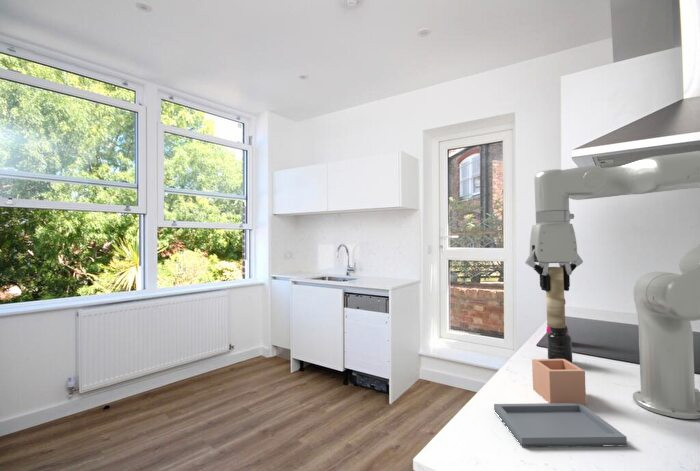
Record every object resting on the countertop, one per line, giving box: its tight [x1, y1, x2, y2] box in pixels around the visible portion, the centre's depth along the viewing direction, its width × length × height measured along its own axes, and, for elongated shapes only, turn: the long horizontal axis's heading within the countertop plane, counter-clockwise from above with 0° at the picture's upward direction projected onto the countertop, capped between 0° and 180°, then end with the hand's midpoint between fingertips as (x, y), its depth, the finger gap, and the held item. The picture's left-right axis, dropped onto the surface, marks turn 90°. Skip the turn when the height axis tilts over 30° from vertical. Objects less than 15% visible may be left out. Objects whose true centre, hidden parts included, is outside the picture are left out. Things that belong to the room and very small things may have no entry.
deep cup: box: [531, 358, 587, 405], centre depth 89 cm, size 8×8×8 cm
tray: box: [493, 402, 628, 448], centre depth 75 cm, size 20×14×2 cm
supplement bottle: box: [546, 324, 573, 364], centre depth 113 cm, size 7×7×12 cm
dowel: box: [545, 266, 566, 328], centre depth 89 cm, size 4×4×15 cm
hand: (554, 289), depth 89 cm, fingers closed on dowel, 4 cm apart
